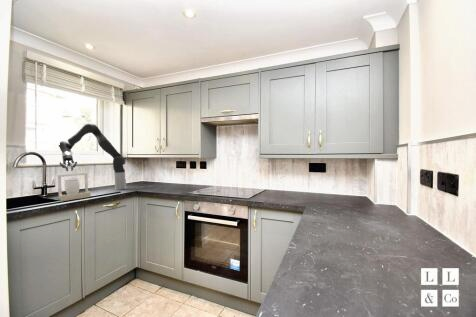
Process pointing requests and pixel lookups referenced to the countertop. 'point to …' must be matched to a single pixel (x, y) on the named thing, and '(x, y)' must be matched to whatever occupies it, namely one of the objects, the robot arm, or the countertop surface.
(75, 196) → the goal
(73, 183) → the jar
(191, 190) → the countertop surface
